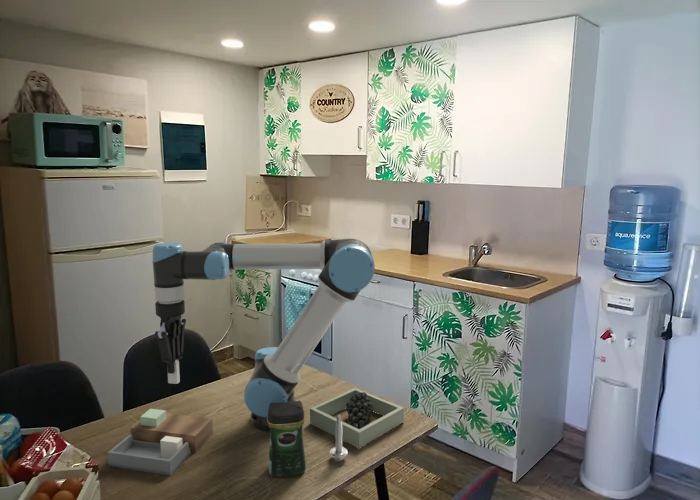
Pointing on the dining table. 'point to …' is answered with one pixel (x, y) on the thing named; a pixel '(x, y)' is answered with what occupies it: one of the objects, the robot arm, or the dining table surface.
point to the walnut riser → (176, 430)
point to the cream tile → (170, 446)
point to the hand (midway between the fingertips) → (174, 382)
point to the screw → (338, 442)
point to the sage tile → (153, 417)
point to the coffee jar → (286, 439)
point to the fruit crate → (350, 434)
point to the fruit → (359, 410)
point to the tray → (146, 457)
